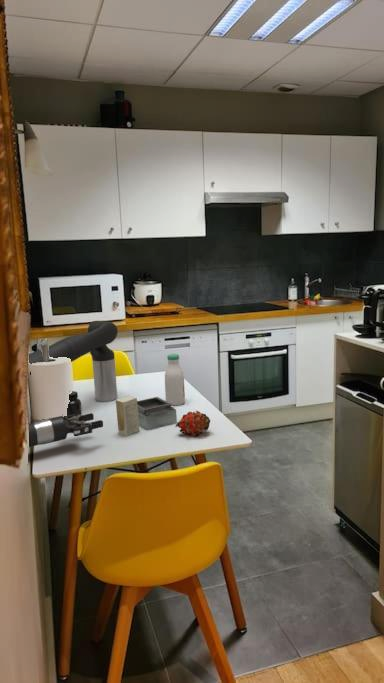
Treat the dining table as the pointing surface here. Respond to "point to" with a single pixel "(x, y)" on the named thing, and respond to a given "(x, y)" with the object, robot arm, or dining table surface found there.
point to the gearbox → (155, 413)
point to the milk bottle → (174, 381)
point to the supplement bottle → (74, 404)
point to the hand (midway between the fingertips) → (97, 419)
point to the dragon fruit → (193, 423)
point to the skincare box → (127, 415)
